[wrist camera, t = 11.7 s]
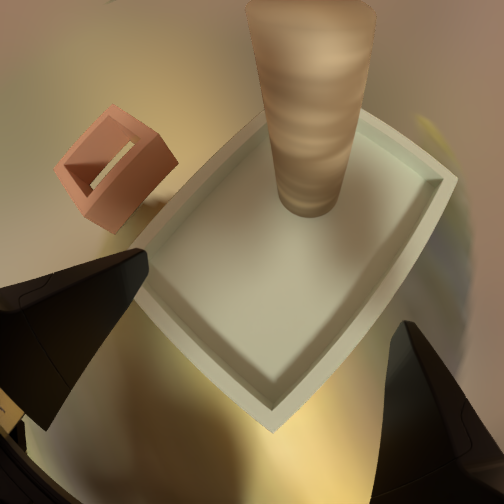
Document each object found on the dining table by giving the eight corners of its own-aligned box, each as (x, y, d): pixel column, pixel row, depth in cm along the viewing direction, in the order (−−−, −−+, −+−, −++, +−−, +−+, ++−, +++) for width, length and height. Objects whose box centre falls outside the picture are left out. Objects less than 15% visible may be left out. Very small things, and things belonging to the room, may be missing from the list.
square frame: (114, 234, 20) (83, 216, 16) (79, 188, 22) (53, 169, 18) (178, 163, 21) (158, 133, 17) (132, 129, 23) (112, 103, 19)
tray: (275, 419, 15) (272, 433, 13) (130, 277, 19) (110, 270, 16) (443, 193, 17) (458, 178, 15) (302, 99, 21) (302, 78, 18)
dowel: (292, 227, 17) (276, 41, 5) (268, 175, 18) (229, 0, 6) (349, 205, 17) (403, 27, 5) (322, 157, 18) (331, -15, 6)
